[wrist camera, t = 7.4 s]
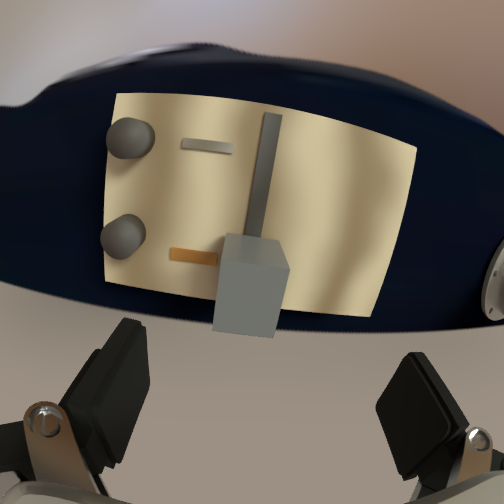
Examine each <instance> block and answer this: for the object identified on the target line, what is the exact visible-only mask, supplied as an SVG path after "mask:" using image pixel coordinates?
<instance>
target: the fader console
mask: <svg viewBox="0 0 504 504" xmlns="http://www.w3.org/2000/svg"><path fill="white" fill-rule="evenodd" d="M106 144H107V148H108V158H107V168H106V181H105V199H104V228H103V230H102V232H101V244H102V247H103V249H104V266H105V281H108V282H113V283H118V284H123V285H128V286H133V287H138V288H144V289H149V290H155V291H161V292H166V293H172V294H178V295H184V296H191V297H197V298H203V299H210V300H216V296H217V288H218V280H219V272H220V265H221V258H222V253H223V248H224V243H225V238H226V234H227V233H233V234H240V235H246V236H253V237H260V238H266V239H273V240H279V242H280V244H281V247H282V249H283V252H284V254H285V257H286V259H287V262H288V265H289V267H290V273H289V277H288V281H287V285H286V289H285V293H284V298H283V302H282V306H281V309H288V310H297V311H307V312H318V313H329V314H340V315H353V316H367V317H370V315H371V313H372V310H373V307H374V305H375V302H376V299H377V297H378V294H379V291H380V289H381V286H382V283H383V280H384V277H385V274H386V271H387V268H388V265H389V262H390V259H391V256H392V252H393V249H394V246H395V242H396V239H397V235H398V232H399V228H400V224H401V221H402V217H403V213H404V209H405V205H406V201H407V196H408V192H409V187H410V183H411V178H412V173H413V167H414V162H415V156H416V150H417V148H416V147H414V146H411V145H409V144H406V143H404V142H401V141H399V140H396V139H393V138H390V137H388V136H385V135H382V134H379V133H376V132H373V131H370V130H367V129H364V128H361V127H358V126H355V125H351V124H348V123H344V122H341V121H337V120H334V119H330V118H326V117H322V116H318V115H314V114H310V113H306V112H302V111H297V110H293V109H288V108H283V107H278V106H273V105H267V104H261V103H255V102H249V101H242V100H235V99H227V98H218V97H209V96H197V95H183V94H161V93H121V94H117V97H116V102H115V107H114V113H113V119H112V125H111V127H110V128H109V130H108V133H107V137H106Z"/></svg>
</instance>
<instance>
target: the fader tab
mask: <svg viewBox="0 0 504 504" xmlns="http://www.w3.org/2000/svg"><path fill="white" fill-rule="evenodd" d="M289 273H290V267H289V265H288V262H287V259H286V257H285V254H284V252H283V249H282V247H281V244H280V242H279V240H273V239H266V238H260V237H253V236H246V235H240V234H233V233H227V234H226V238H225V243H224V248H223V253H222V258H221V265H220V272H219V280H218V288H217V296H216V304H215V312H214V320H213V329H212V330H213V331H218V332H225V333H233V334H241V335H249V336H258V337H268V338H273V337H274V333H275V329H276V325H277V322H278V318H279V314H280V310H281V306H282V302H283V298H284V293H285V289H286V285H287V281H288V277H289Z"/></svg>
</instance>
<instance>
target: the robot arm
mask: <svg viewBox="0 0 504 504" xmlns="http://www.w3.org/2000/svg"><path fill="white" fill-rule="evenodd" d="M481 305H482V310H483V312H484V314H485V315H486V316H487V317H488V318H489V319H491V320H493V321H494V320H500V319H502V318H504V239H503V241H502V242H501V244H500V245H499V247H498V248H497V250H496V252H495V254H494V256H493V258H492V260H491V262H490V264H489V267H488V270H487V272H486V276H485V279H484V283H483V288H482V296H481ZM149 386H150V376H149V366H148V353H147V336H146V327H145V326H142V325H141V322H140V321H138V320H134V319H129V318H123V319H122V320H121V322H120V323H119V325H118V326H117V327H116V329H115V330H114V332H113V333H112V334H111V336H110V337H109V339H108V340H107V342H106V343H105V345H104V346H103V348H102V349H96V350H95V351H94V352H93V353H92V354H91V356H90V357H89V359H88V360H87V361H86V363H85V364H84V366H83V368H82V369H81V370H80V372H79V373H78V375H77V376H76V378H75V379H74V381H73V382H72V384H71V385H70V387H69V388H68V390H67V392H66V393H65V395H64V396H63V398H62V399H61V401H60V403H59V404H58V405H57V404H55V403H52V402H48V401H45V402H44V401H41V402H38V403H35V404H33V405H32V406H30V407H29V408H28V409H27V411H26V412H25V415H24V417H23V421H18V422H13V423H8V424H2V425H0V500H1V501H0V504H131V503H127V502H123V501H120V500H116V499H113V498H112V497H111V496H110V494H109V492H108V490H107V488H106V486H105V484H104V482H103V480H102V478H101V476H100V474H101V473H102V472H103V469H104V467H105V466H106V467H109V468H112V469H114V467H115V464H116V463H119V464H120V463H121V462H122V459H123V457H124V454H125V451H126V448H127V445H128V442H129V440H130V437H131V435H132V432H133V429H134V426H135V424H136V421H137V418H138V416H139V413H140V410H141V408H142V405H143V403H144V400H145V398H146V395H147V393H148V390H149ZM376 412H377V415H378V417H379V420H380V423H381V425H382V428H383V431H384V433H385V436H386V438H387V441H388V444H389V447H390V450H391V453H392V455H393V458H394V461H395V464H396V467H397V470H398V472H399V474H400V475H402V478H403V481H406V480H409V479H413V478H415V477H416V476H417V475H418V477H419V480H418V482H417V485H416V487H415V490H414V492H413V494H412V497H411V499H410V501H409V502H408V503H405V504H504V453H501V452H499V451H497V450H495V449H492V448H493V443H492V439H491V436H490V435H489V433H488V432H487V431H486V430H484V429H482V428H480V427H473V428H470V429H469V430H468V432H467V433H466V432H465V429H466V428H467V427H468V426H469V422H468V421H467V419H466V417H465V416H464V414H463V412H462V411H461V409H460V407H459V406H458V404H457V402H456V401H455V399H454V398H453V396H452V394H451V393H450V391H449V390H448V388H447V387H446V385H445V384H444V382H443V381H442V379H441V378H440V376H439V375H438V373H437V372H436V370H435V369H434V367H433V366H432V364H431V363H430V361H429V360H428V359H427V357H426V356H425V354H424V353H422V352H410V353H408V354H407V355H406V356H405V357H404V358H403V359H402V361H401V363H400V365H399V367H398V368H397V370H396V372H395V374H394V375H393V377H392V379H391V380H390V382H389V384H388V385H387V387H386V388H385V390H384V392H383V393H382V395H381V397H380V398H379V399H378V401H377V404H376ZM3 495H4V496H3Z"/></svg>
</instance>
